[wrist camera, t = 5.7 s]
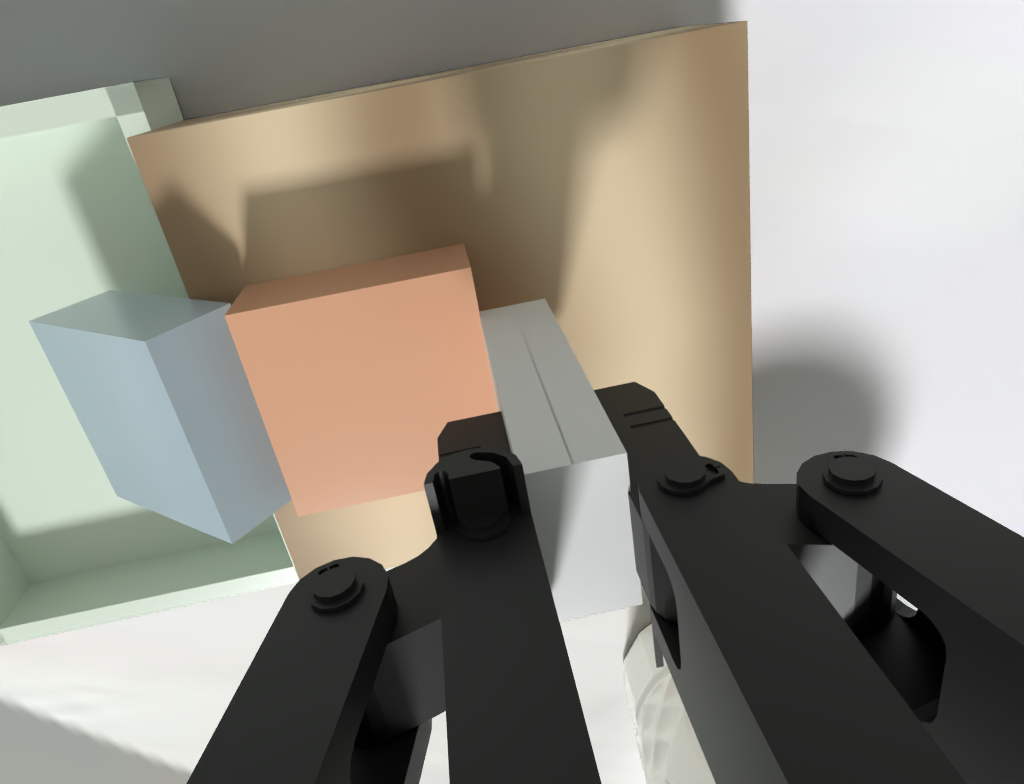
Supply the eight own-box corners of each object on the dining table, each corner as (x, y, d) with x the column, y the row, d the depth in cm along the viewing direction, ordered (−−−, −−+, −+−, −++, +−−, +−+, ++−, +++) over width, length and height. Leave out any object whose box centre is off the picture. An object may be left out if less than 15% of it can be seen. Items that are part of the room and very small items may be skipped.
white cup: (572, 646, 28) (647, 933, 19) (753, 548, 26) (925, 802, 18) (658, 752, 31) (757, 1039, 22) (822, 669, 30) (996, 934, 21)
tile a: (464, 243, 16) (470, 267, 14) (500, 431, 18) (510, 472, 17) (245, 285, 16) (224, 315, 14) (309, 470, 18) (298, 516, 16)
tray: (168, 78, 17) (132, 81, 15) (328, 528, 24) (318, 577, 21) (-244, 154, 17) (-344, 170, 15) (28, 591, 23) (-13, 648, 21)
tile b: (230, 303, 15) (145, 341, 14) (299, 494, 17) (232, 544, 16) (110, 290, 18) (28, 321, 16) (183, 456, 20) (116, 496, 19)
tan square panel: (682, 26, 18) (746, 20, 15) (702, 423, 24) (753, 489, 20) (184, 120, 18) (126, 137, 14) (319, 503, 23) (302, 586, 20)
